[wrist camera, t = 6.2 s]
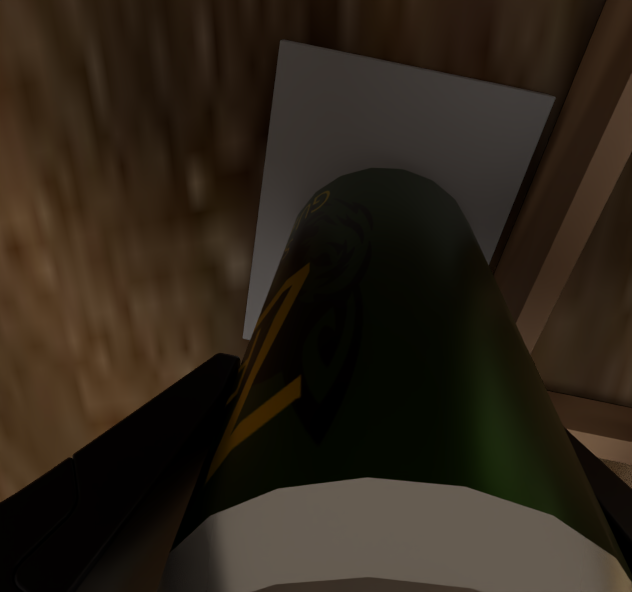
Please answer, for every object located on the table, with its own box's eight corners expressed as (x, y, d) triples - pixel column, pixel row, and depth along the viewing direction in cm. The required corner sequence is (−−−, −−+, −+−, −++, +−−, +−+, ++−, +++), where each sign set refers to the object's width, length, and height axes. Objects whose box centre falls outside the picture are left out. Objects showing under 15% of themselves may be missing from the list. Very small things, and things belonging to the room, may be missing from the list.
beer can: (495, 181, 14) (870, 685, 3) (438, 336, 16) (549, 884, 6) (307, 142, 14) (104, 527, 3) (280, 304, 16) (121, 796, 6)
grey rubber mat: (549, 93, 14) (555, 97, 13) (440, 369, 19) (443, 379, 18) (283, 39, 14) (280, 40, 13) (246, 329, 19) (242, 338, 18)
